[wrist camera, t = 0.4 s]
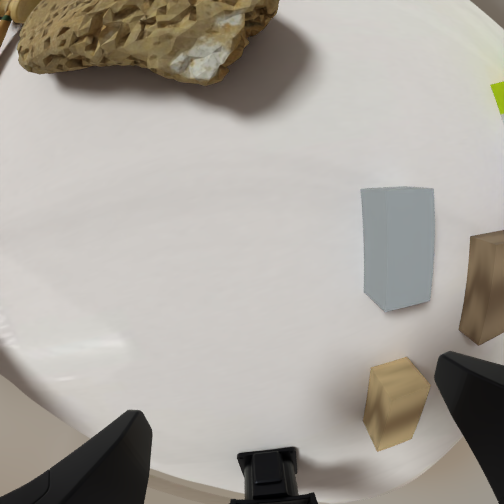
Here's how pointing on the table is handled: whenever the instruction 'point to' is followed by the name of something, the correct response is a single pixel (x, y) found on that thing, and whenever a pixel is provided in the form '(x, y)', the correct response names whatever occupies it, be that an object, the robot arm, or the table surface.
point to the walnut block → (484, 288)
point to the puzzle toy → (499, 96)
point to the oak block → (394, 402)
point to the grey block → (398, 245)
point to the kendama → (14, 13)
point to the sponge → (142, 35)
